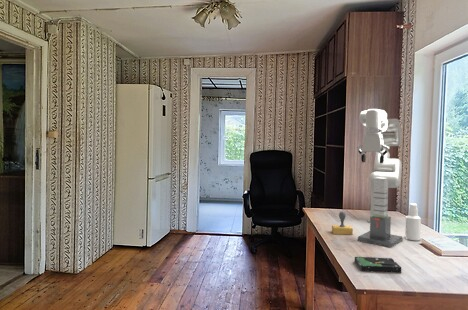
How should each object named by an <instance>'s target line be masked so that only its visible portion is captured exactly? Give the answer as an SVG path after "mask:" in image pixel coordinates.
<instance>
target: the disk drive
mask: <svg viewBox="0 0 468 310" xmlns="http://www.w3.org/2000/svg"><path fill="white" fill-rule="evenodd" d="M354 263H355V265H356V264H357V265H356V266H357V268H358V267H359V268H358V269H359V270H360V271H361V272H371V271H373V272H376V273H377V272H378V273H395V274H397V273H398V274H401V273H402V266H400V265H399V264H398V263H397V262H396V261H395V260H394V259H393V258H390V257H374V256H373V257H372V256H371V257H370V256H354ZM373 272H372V273H373Z"/></svg>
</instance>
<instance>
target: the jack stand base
mask: <svg viewBox="0 0 468 310" xmlns="http://www.w3.org/2000/svg"><path fill="white" fill-rule="evenodd" d="M369 217H370V216H369ZM391 218H392V217H391V216H389V215H388V216H387V218H385V219H384V218H377V217H374V216H371V217H370V218H369V219H370V222H369V225H370V226H369V231H367V232H365V233H362V234H361V235H358V236H357V242H364V243H368V244H374V245H378V246H382V247H386V248H393V247H394V246H396V245H398V244H399V243H401V242H402V241H403V236H401V235H397V234H392V232H391V226H392V224H391V222H392V221H391V220H392V219H391Z"/></svg>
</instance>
